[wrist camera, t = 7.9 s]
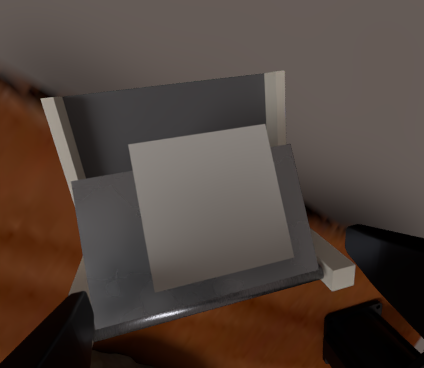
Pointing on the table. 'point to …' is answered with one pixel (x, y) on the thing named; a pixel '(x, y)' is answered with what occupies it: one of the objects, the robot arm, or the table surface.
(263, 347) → the table surface
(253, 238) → the light grey cube
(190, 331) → the table surface
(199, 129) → the frame
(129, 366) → the marble piece
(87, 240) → the trapdoor
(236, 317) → the table surface
